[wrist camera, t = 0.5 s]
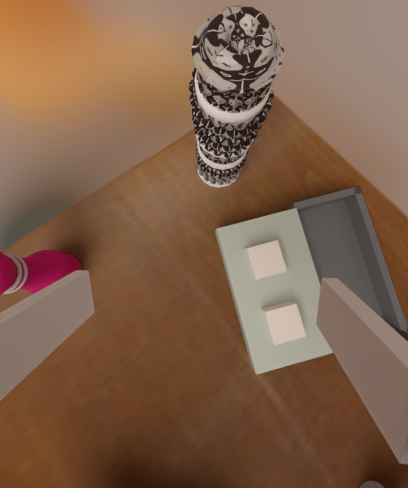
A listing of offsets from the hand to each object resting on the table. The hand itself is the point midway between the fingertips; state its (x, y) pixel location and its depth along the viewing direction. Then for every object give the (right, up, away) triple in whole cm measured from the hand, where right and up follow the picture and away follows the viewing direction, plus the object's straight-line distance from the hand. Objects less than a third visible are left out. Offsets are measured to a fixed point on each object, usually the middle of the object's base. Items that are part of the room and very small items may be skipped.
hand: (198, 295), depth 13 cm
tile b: (+10, 0, +25) cm, 27 cm away
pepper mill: (-25, -2, +29) cm, 38 cm away
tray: (+25, -1, +29) cm, 38 cm away
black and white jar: (+3, +18, +31) cm, 36 cm away
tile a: (+13, -9, +24) cm, 29 cm away
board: (+12, -5, +29) cm, 31 cm away
